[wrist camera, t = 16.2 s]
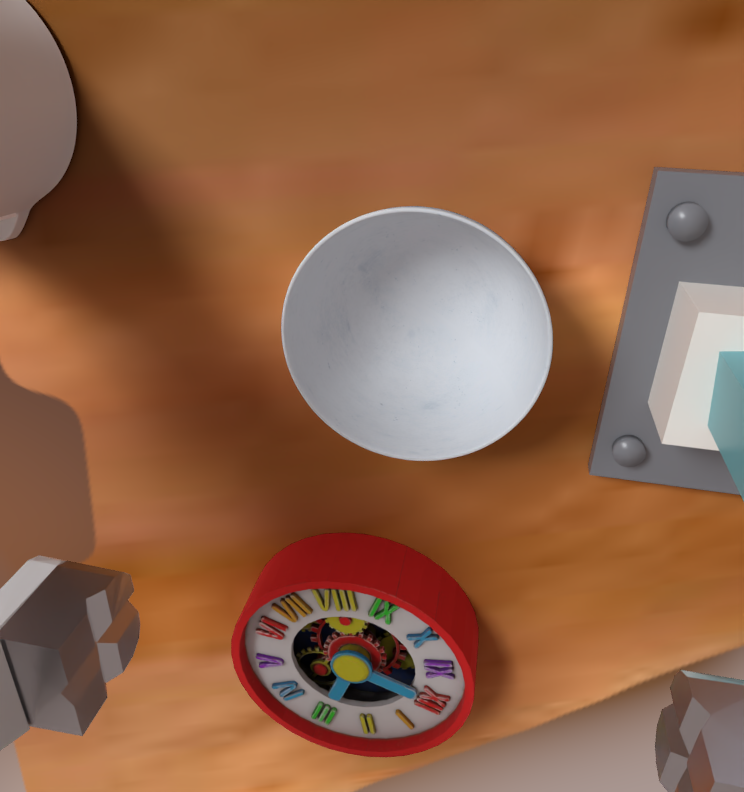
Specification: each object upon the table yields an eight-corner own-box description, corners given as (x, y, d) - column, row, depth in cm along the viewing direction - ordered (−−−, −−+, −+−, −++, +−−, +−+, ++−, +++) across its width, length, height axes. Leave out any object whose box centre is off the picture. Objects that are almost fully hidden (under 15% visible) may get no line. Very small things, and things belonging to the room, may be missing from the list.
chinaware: (461, 126, 38) (448, 145, 31) (592, 332, 42) (606, 387, 35) (272, 267, 44) (228, 308, 38) (402, 435, 48) (383, 498, 42)
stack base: (588, 464, 47) (596, 520, 41) (654, 166, 37) (676, 188, 32) (788, 491, 45) (824, 553, 39) (913, 183, 35) (984, 209, 30)
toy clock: (269, 541, 48) (520, 652, 49) (293, 493, 53) (520, 594, 54) (206, 696, 58) (414, 787, 59) (231, 643, 63) (423, 727, 64)
